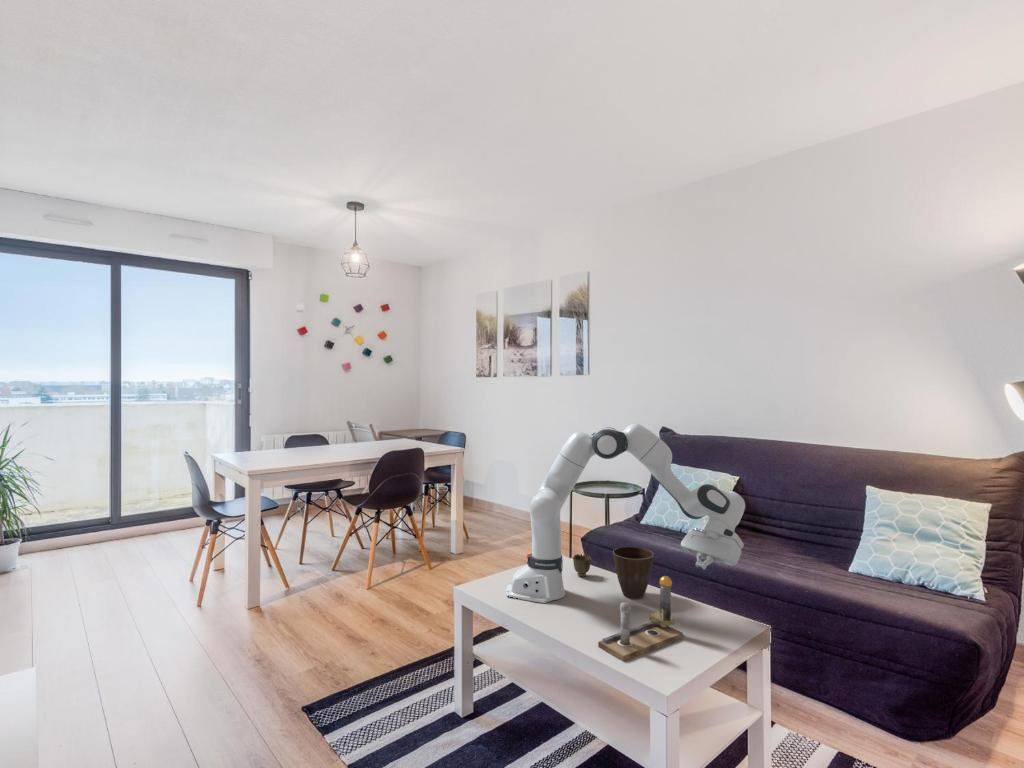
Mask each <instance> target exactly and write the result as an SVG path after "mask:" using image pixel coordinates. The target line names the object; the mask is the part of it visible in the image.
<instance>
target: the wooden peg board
mask: <svg viewBox="0 0 1024 768" xmlns="http://www.w3.org/2000/svg"><path fill="white" fill-rule="evenodd" d="M619 610H620V632H618V633H615V634H613V635H609V636H606V637H603V638H602V640H598V642H597V644H598V645H597V647H598V648H600V649H602V650H603V651H604V652H606V653H608V654H610V655H611V656H613V657H615V658H616V659H618V660H620V661H622V662H626V661H628V660H630V659H633V658H635V657H638V656H640V655H643V654H646V653H647V652H650V651H653V650H656V649H658V648H661V647H664V646H666V645H668V644H670V643H673V642H675V641H678V640H681V639H683V638H684V634H683V633H684V632H682V631H680V630H678V629H676V628H674V627H672V626H668V627H662V626H660V625H658V624H656V623H654V622H652V621H650V622H647V623H644V624H640V625H638V626H636V627H633V628H630V626H631V625H630V624H631V620H630V619H631V610H632V608H631V605H630V604H629V602H626V601H622V602H621V603H620V605H619Z"/></svg>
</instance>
